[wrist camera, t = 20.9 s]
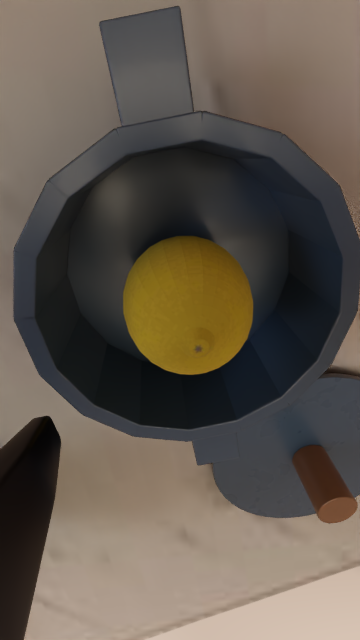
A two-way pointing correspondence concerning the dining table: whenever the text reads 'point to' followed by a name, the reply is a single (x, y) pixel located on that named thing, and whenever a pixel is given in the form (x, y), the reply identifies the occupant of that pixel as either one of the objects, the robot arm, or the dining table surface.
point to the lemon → (188, 305)
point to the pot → (183, 220)
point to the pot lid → (300, 456)
